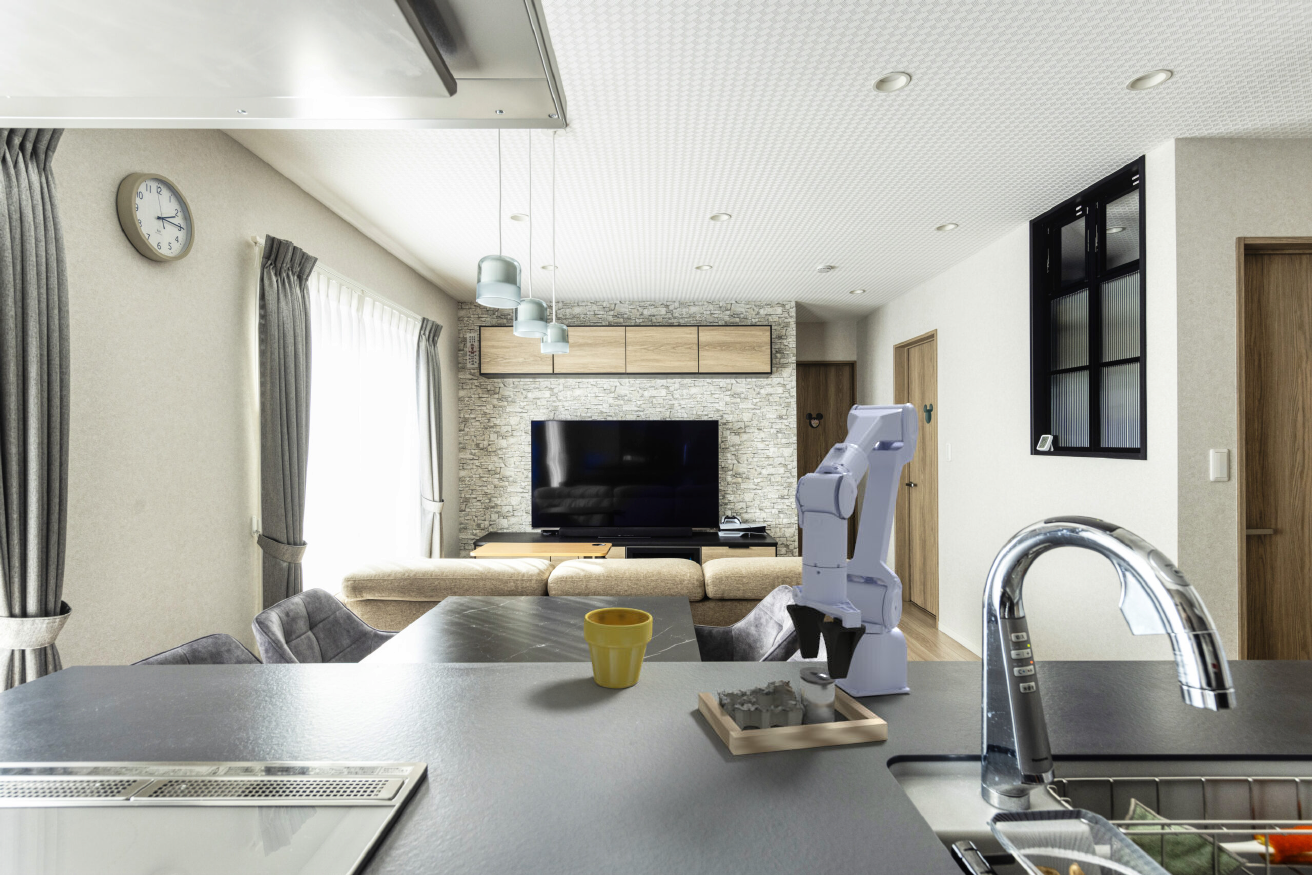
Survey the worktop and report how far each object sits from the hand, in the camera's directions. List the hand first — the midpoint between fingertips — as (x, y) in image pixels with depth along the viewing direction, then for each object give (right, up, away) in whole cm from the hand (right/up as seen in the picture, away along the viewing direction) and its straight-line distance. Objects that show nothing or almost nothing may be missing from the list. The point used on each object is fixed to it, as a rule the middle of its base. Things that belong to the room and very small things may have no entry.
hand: (823, 667), depth 83 cm
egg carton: (-8, -7, 0) cm, 11 cm away
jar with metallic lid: (-1, -7, 0) cm, 7 cm away
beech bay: (-5, -7, -1) cm, 8 cm away
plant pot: (-28, -7, +12) cm, 31 cm away
